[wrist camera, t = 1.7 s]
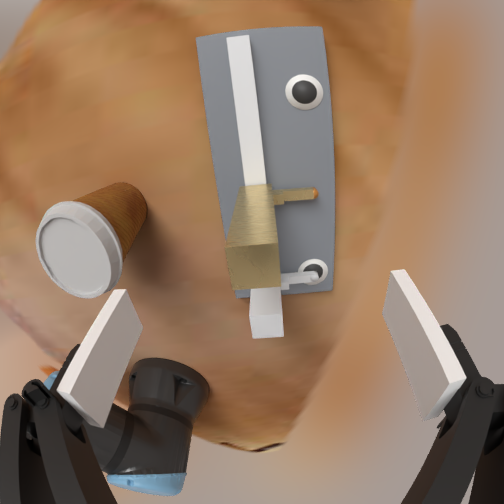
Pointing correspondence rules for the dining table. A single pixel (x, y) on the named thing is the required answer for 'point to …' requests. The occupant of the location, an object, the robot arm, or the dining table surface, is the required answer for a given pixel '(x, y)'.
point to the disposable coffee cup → (90, 238)
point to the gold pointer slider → (258, 235)
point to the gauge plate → (275, 149)
